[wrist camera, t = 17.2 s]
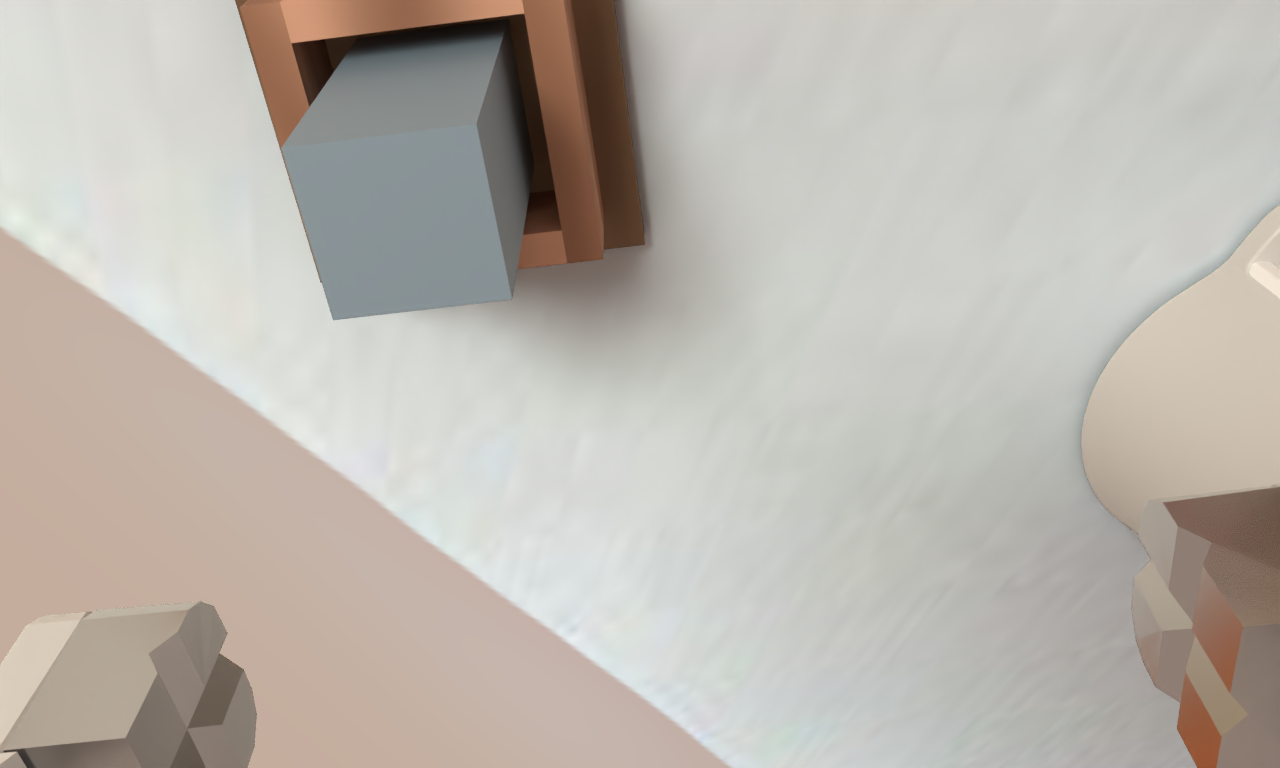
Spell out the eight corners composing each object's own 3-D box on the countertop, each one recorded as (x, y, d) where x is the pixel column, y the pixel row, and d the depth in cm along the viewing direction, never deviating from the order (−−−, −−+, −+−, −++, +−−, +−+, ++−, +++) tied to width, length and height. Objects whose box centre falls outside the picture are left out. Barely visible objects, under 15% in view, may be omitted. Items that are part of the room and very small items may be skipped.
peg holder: (598, -115, 36) (596, -88, 32) (644, 232, 42) (646, 289, 38) (226, -65, 36) (181, -33, 33) (326, 270, 43) (298, 329, 39)
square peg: (508, 18, 37) (476, 124, 29) (534, 163, 40) (512, 299, 31) (357, 38, 37) (281, 148, 29) (393, 181, 40) (333, 320, 31)
